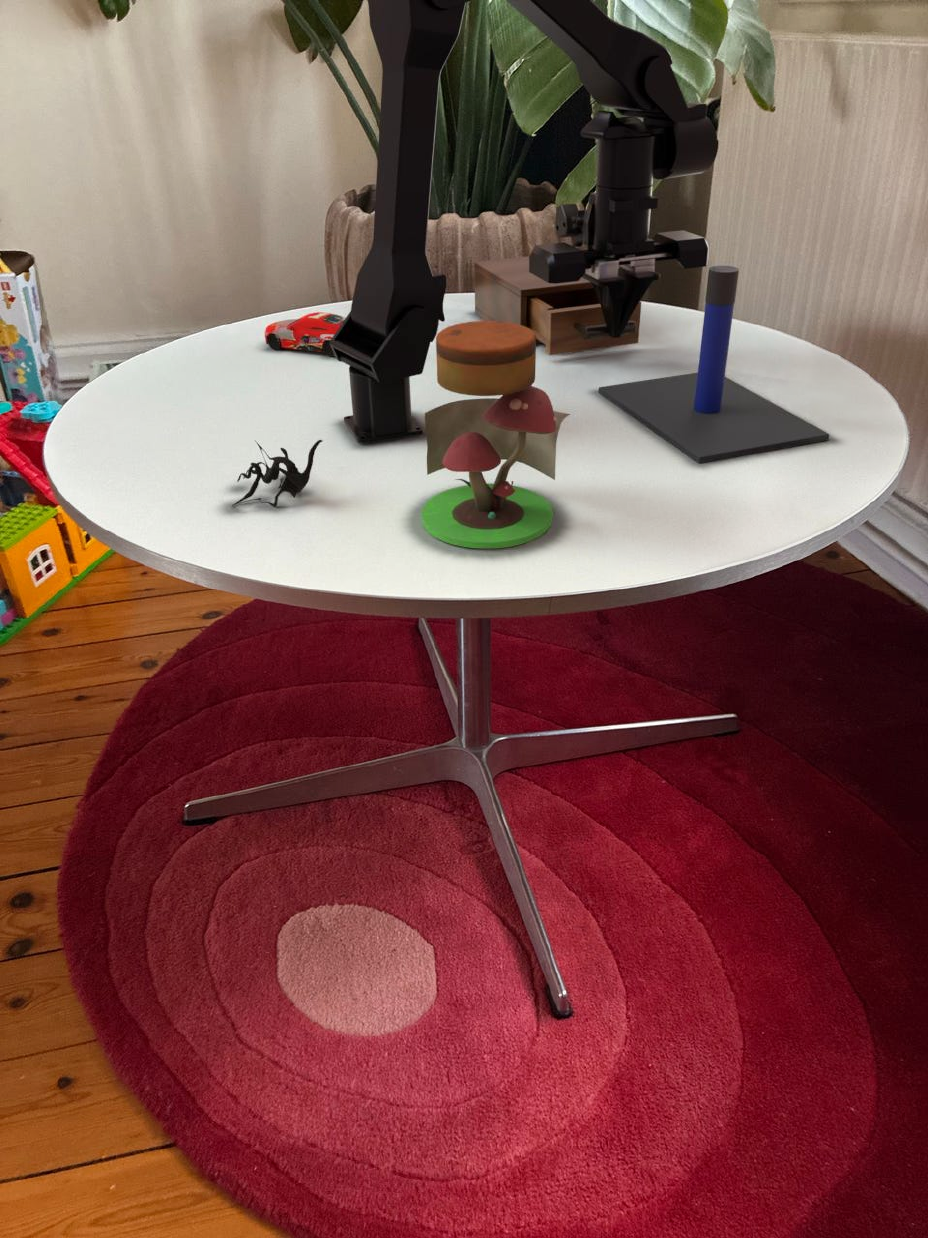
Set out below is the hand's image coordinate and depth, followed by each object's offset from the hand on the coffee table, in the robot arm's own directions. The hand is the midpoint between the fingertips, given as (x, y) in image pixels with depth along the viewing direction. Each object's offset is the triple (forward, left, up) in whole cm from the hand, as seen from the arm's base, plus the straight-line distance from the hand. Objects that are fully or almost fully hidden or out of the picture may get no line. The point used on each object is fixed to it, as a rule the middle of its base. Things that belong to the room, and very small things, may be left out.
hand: (614, 337), depth 108 cm
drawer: (+10, 0, -3) cm, 10 cm away
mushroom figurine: (-29, +26, -4) cm, 39 cm away
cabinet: (+20, 0, -4) cm, 20 cm away
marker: (-16, -2, -3) cm, 17 cm away
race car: (+21, +29, -4) cm, 36 cm away
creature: (-18, +42, -4) cm, 46 cm away
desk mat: (-16, -2, -4) cm, 17 cm away
